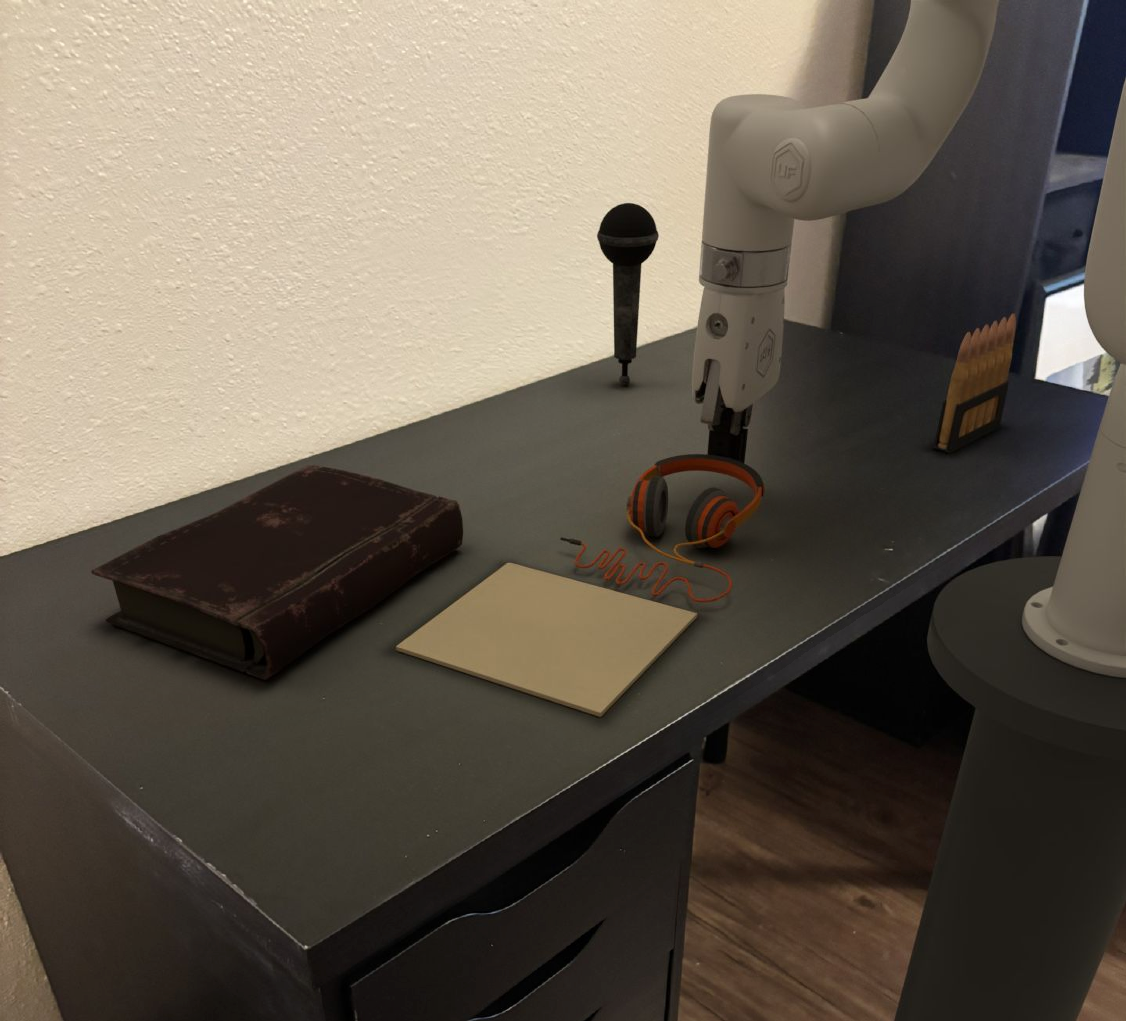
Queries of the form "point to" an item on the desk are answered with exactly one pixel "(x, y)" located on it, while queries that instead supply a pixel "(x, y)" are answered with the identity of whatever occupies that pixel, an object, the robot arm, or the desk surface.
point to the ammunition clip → (977, 386)
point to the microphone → (627, 272)
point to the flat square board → (550, 637)
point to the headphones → (705, 519)
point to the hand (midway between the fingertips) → (724, 468)
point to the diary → (281, 566)
